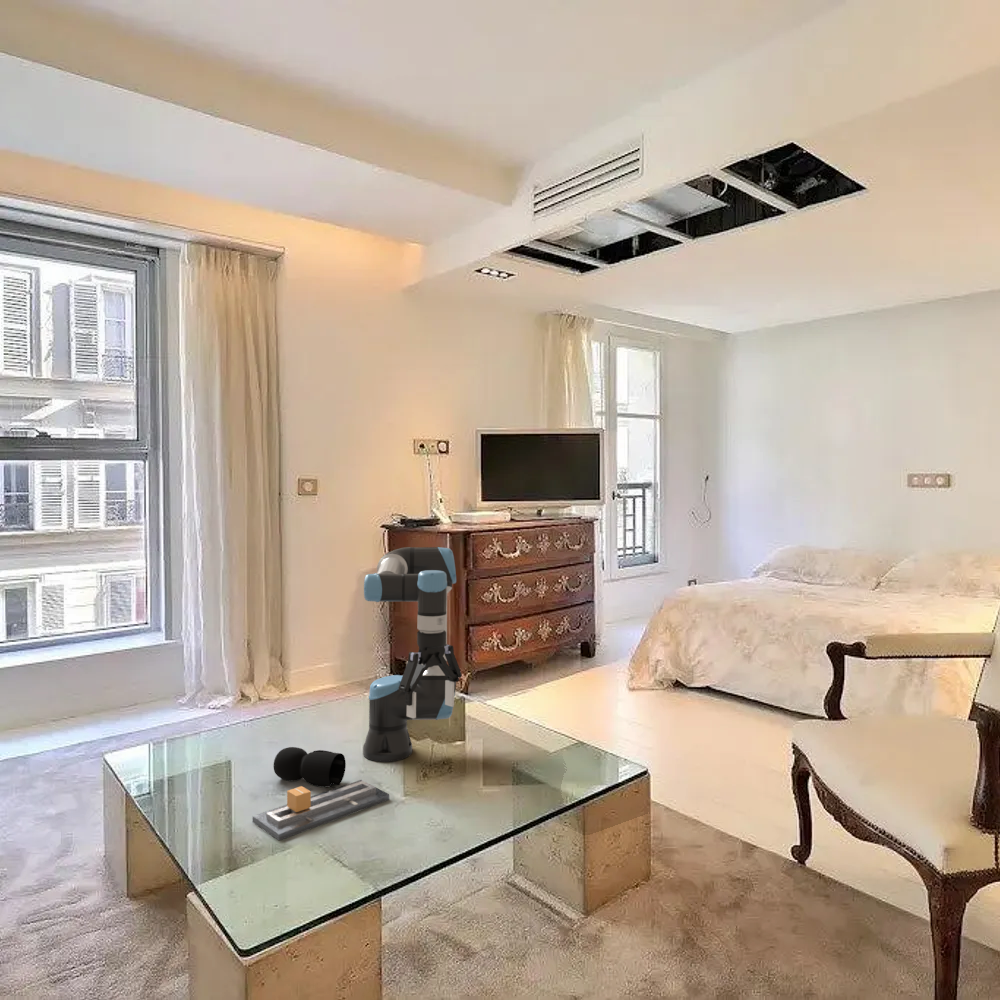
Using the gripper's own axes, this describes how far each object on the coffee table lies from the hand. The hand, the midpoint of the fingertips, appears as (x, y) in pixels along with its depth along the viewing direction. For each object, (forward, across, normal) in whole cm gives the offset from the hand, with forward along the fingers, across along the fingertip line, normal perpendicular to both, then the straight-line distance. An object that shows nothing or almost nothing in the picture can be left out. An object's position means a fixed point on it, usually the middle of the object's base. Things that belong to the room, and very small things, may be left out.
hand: (430, 711), depth 192 cm
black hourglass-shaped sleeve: (+25, -13, +36) cm, 45 cm away
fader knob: (+23, -28, +18) cm, 40 cm away
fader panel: (+25, -21, +17) cm, 37 cm away
